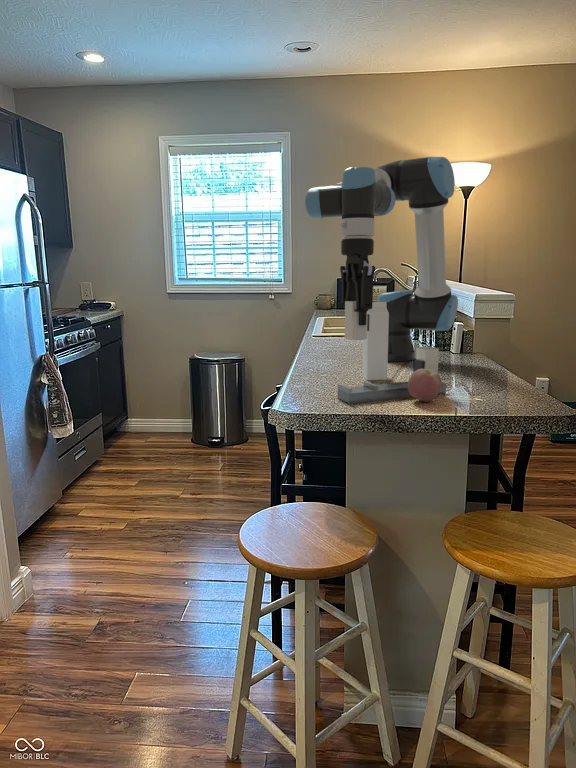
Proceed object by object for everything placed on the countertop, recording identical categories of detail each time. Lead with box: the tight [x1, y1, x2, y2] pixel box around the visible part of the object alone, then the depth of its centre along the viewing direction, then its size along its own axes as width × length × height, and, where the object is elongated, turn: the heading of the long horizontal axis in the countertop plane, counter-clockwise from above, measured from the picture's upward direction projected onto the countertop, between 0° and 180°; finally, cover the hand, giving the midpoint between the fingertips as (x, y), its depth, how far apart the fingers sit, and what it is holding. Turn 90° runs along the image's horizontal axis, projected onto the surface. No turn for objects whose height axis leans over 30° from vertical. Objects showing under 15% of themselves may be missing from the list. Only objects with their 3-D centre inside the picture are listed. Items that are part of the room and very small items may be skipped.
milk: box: [361, 301, 389, 381], centre depth 163 cm, size 6×6×22 cm
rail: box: [337, 346, 447, 405], centre depth 142 cm, size 28×6×12 cm, turn 112°
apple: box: [407, 369, 442, 403], centre depth 136 cm, size 8×8×8 cm
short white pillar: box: [344, 301, 369, 341], centre depth 136 cm, size 5×4×9 cm
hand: (355, 337), depth 137 cm, fingers closed on short white pillar, 4 cm apart
